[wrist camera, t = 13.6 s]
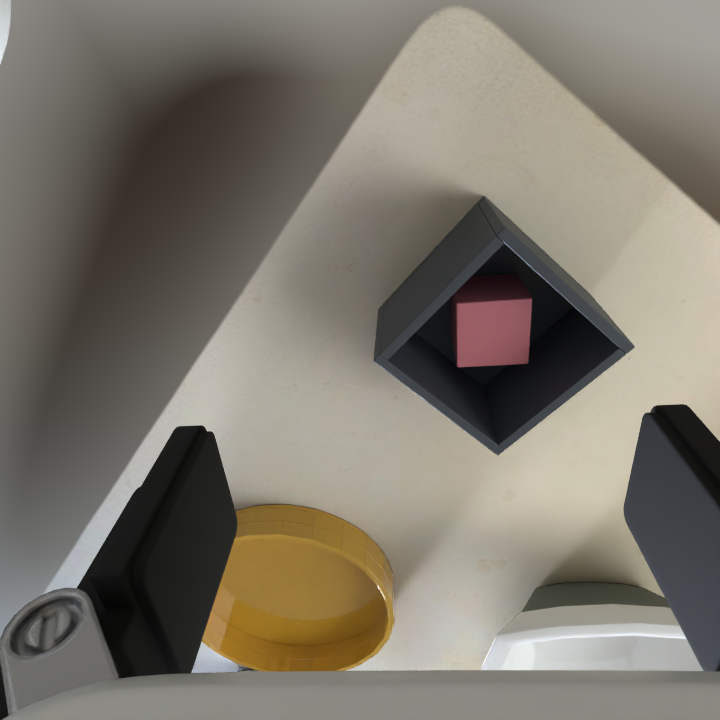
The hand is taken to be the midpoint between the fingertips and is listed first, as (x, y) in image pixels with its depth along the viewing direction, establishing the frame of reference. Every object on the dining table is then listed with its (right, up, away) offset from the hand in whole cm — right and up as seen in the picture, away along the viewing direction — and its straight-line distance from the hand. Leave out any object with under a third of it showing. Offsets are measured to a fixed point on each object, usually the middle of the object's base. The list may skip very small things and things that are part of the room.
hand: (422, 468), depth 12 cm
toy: (+7, +6, +24) cm, 26 cm away
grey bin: (+7, +6, +25) cm, 26 cm away
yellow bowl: (-8, -19, +40) cm, 45 cm away
